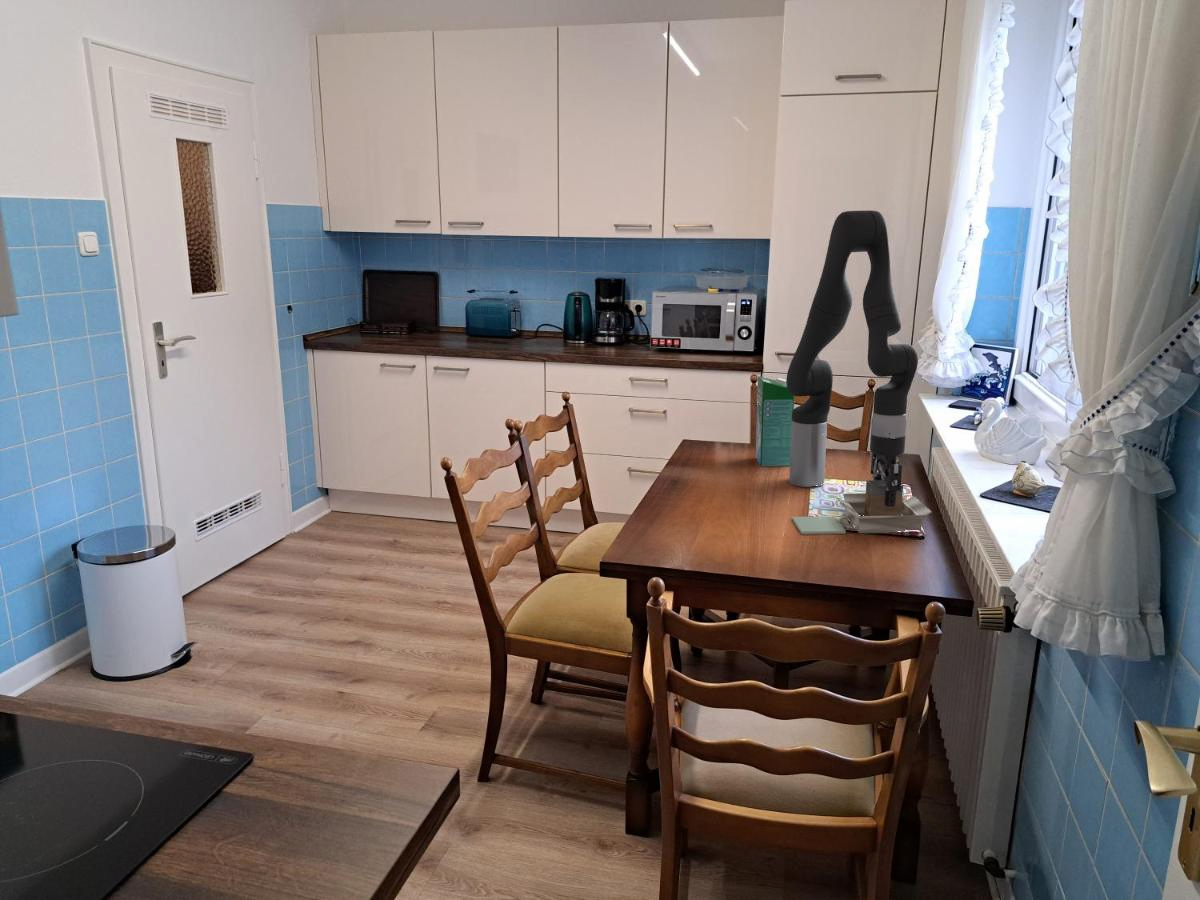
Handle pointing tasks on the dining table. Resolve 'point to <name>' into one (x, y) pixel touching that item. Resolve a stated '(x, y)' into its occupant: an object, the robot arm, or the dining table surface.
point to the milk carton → (773, 422)
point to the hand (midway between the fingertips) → (883, 500)
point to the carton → (884, 524)
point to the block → (880, 500)
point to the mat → (818, 525)
